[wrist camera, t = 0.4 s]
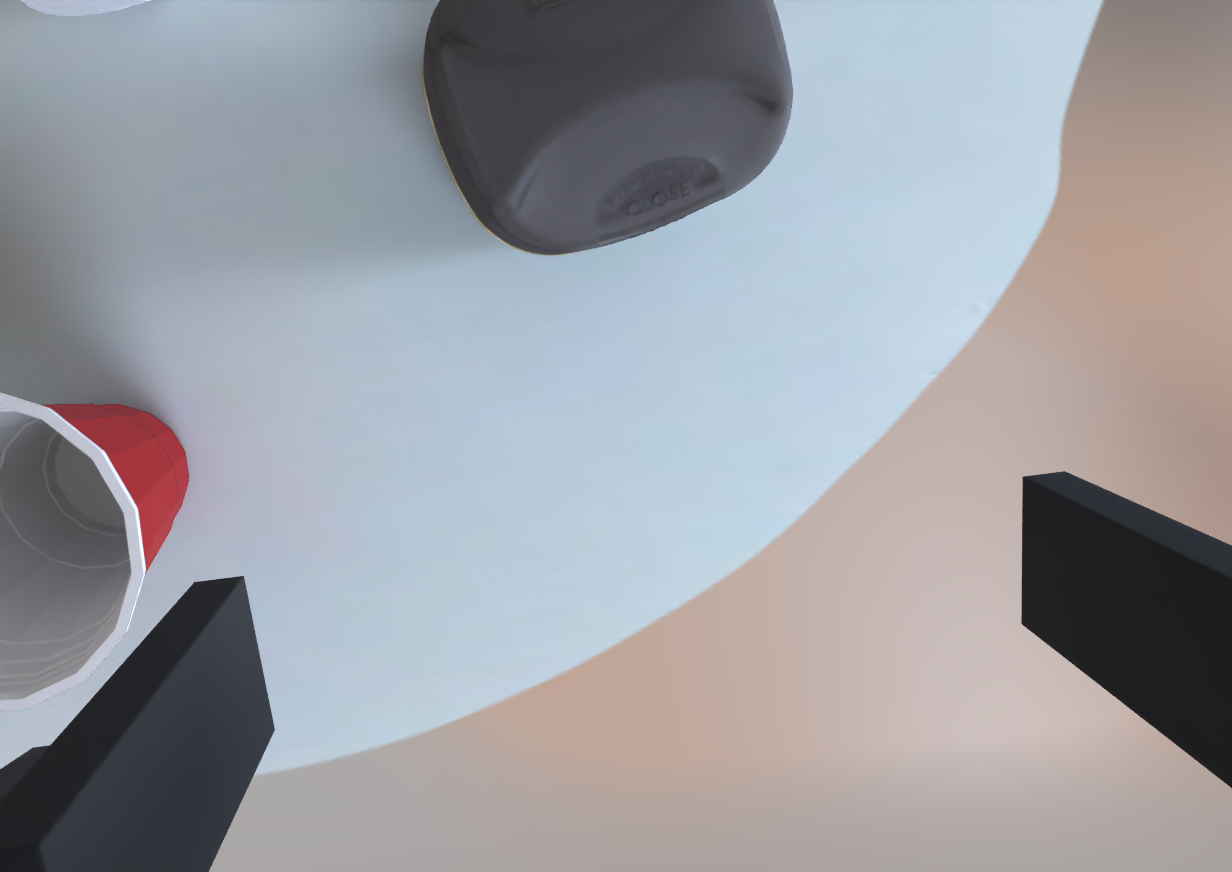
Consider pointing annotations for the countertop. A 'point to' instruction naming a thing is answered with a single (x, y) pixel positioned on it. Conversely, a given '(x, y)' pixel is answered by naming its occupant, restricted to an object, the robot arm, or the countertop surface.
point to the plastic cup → (76, 535)
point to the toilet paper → (80, 6)
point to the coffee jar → (603, 111)
